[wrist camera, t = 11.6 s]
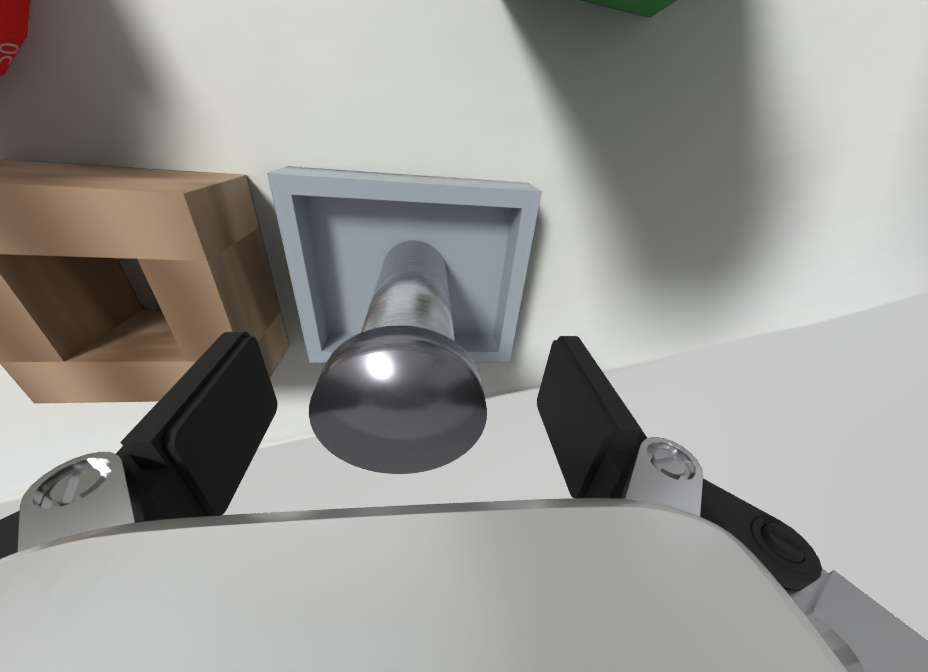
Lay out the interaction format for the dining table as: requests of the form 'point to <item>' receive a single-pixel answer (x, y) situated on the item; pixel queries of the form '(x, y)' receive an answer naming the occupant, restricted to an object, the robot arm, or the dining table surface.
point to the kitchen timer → (12, 29)
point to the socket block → (107, 288)
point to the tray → (394, 221)
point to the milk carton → (635, 5)
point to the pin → (401, 376)
